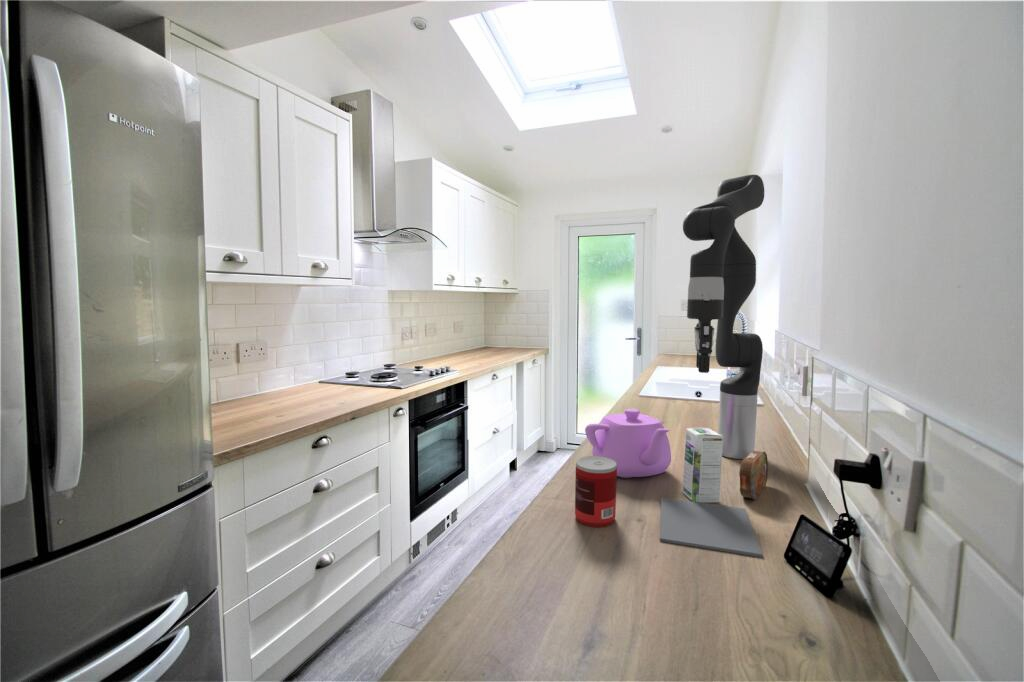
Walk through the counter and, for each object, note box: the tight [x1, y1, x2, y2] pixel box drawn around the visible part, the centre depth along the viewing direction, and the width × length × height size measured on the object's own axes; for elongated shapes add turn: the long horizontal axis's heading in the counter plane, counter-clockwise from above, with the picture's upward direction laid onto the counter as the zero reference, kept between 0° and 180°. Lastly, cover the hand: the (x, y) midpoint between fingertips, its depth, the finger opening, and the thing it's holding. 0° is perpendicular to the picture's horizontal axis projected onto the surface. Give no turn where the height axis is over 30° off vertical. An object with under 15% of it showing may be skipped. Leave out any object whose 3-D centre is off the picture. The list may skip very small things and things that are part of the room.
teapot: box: [584, 408, 672, 479], centre depth 113 cm, size 23×21×15 cm
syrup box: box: [682, 427, 723, 504], centre depth 100 cm, size 6×6×14 cm
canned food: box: [574, 455, 618, 528], centre depth 90 cm, size 8×8×11 cm
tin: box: [738, 450, 769, 501], centre depth 103 cm, size 15×3×8 cm, turn 140°
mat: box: [659, 497, 763, 558], centre depth 88 cm, size 18×16×1 cm
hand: (702, 370), depth 108 cm, fingers open, 7 cm apart
